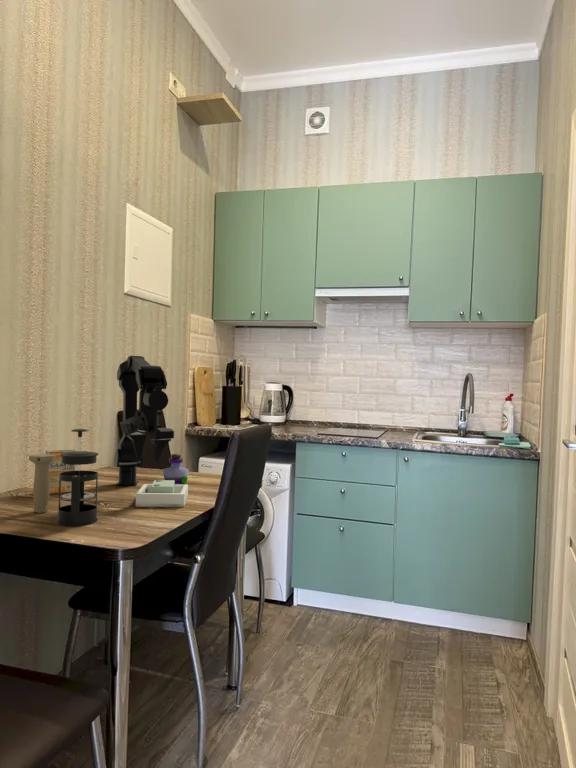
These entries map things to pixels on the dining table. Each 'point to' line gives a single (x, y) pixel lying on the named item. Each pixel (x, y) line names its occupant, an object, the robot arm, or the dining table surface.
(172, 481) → the green box with knobs
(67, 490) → the supplement box
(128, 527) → the dining table surface
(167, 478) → the potion bottle
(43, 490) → the handle
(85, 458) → the french press
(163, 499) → the cabinet carcass
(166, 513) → the dining table surface
